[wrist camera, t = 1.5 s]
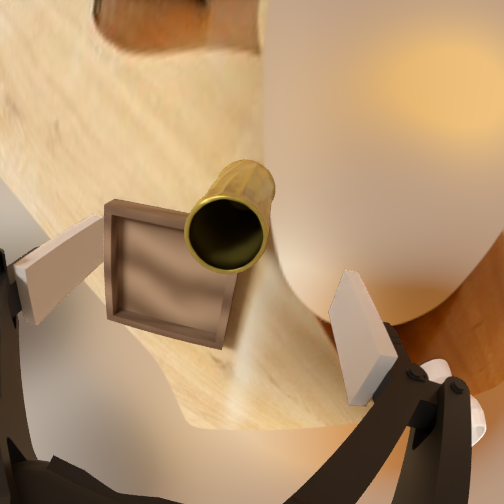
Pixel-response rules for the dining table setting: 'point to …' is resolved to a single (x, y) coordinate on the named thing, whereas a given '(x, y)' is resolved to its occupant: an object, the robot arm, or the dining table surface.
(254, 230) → the vase
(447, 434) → the robot arm
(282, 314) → the dining table surface
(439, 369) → the cup
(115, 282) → the walnut tray
